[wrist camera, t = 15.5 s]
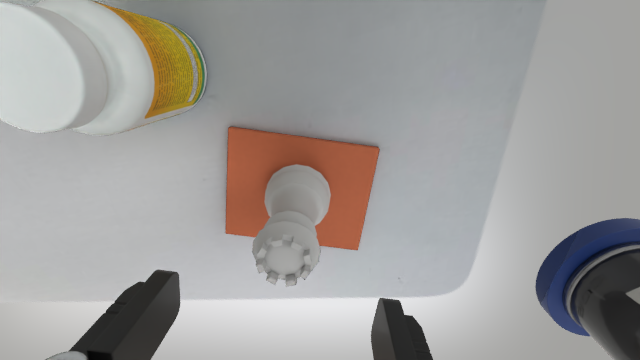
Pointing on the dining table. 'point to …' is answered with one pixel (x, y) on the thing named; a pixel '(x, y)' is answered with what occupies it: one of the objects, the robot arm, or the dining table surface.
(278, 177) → the rook chess piece
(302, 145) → the mat
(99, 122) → the supplement bottle
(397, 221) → the dining table surface
